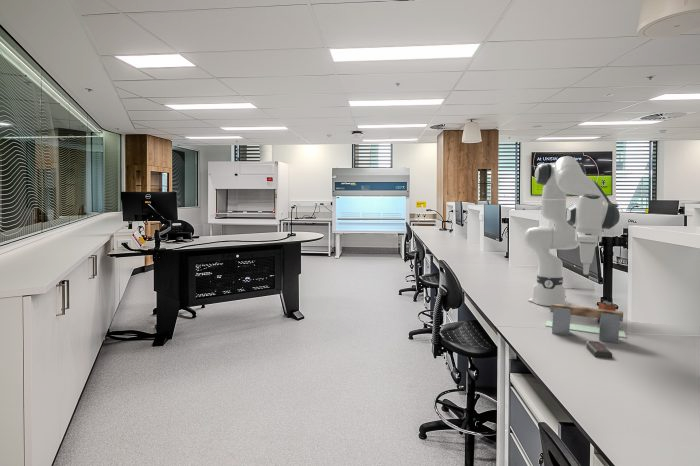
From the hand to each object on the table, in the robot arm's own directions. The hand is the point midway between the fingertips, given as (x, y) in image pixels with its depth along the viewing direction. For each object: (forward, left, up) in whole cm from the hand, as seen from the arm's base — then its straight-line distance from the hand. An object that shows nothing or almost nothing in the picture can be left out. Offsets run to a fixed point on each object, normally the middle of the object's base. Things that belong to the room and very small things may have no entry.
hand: (586, 272), depth 159 cm
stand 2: (0, +8, -25) cm, 26 cm away
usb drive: (+17, +5, -25) cm, 31 cm away
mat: (-10, 0, -25) cm, 27 cm away
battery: (-22, +8, -25) cm, 34 cm away
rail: (0, 0, -17) cm, 17 cm away
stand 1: (0, -8, -25) cm, 26 cm away
